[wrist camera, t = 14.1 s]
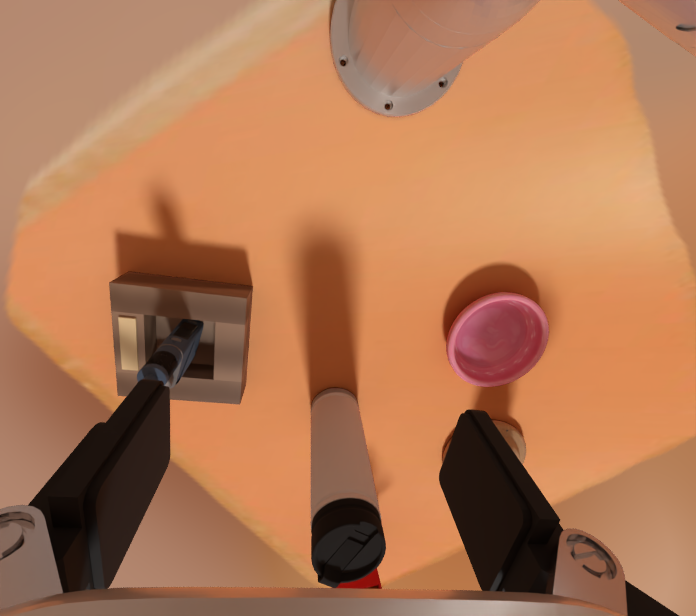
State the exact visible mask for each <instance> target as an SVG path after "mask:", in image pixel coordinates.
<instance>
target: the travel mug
mask: <svg viewBox="0 0 696 616" xmlns="http://www.w3.org/2000/svg"><path fill="white" fill-rule="evenodd" d="M311 532H312V537H311V559H312V565H313V567H314V570H315V571H316V573H317V574H318V582H319V583H322V584H325V585H327V586H330V587H333V588H336V587H337V586H338V585H339V584H340V583H349V582H353V581H357V580H359V579H362V578H364V577H366V576H367V575H369V574H370V573H371V572H373V571H374V570H375V569H376V568H377V567H378V566H379V564H380V563H381V561H382V559H383V557H384V555H385V550H386V543H385V538H384V533H383V528H382V524H381V515H380V511H379V505H378V500H377V495H376V490H375V485H374V480H373V475H372V470H371V465H370V460H369V455H368V450H367V445H366V440H365V435H364V430H363V425H362V421H361V416H360V411H359V406H358V402H357V399H356V398H355V396H354V395H353V394H352V393H351V392H349V391H347V390H345V389H341V388H330V389H327V390H324V391H322V392H321V393H319V394H318V395H317V396H316V397H315V398H314V400H313V402H312V405H311Z"/></svg>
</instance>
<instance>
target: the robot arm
mask: <svg viewBox="0 0 696 616" xmlns="http://www.w3.org/2000/svg"><path fill="white" fill-rule="evenodd" d="M539 1H540V0H336V2H335V4H334V9H333V14H332V19H331V27H330V44H331V52H332V57H333V62H334V66H335V68H336V71H337V74H338V76H339V78H340V80H341V82H342V83H343V85H344V87H345V89H346V90H347V91H348V92H349V94H350V95H351V96H352V97H353V98H354V99H355V100H356V101H357V102H358V103H359V104H361V105H362V106H363V107H364V108H366V109H368V110H370V111H372V112H374V113H376V114H379V115H383V116H387V117H404V116H409V115H413V114H416V113H418V112H420V111H423V110H425V109H426V108H428V107H430V106H431V105H433V104H434V103H435V102H436V101H438V100H439V99H440V98H441V97H442V96H443V95H444V94H445V93H446V92H447V91H448V90H449V88H450V87H451V85H452V84H453V82H454V80H455V79H456V77H457V75H458V74H459V71H460V69H461V66H462V64H463V61H465V60H466V59H468V58H469V57H470V56H472V55H473V54H475V53H476V52H477V51H479V50H480V49H482V48H483V47H484V46H486V45H487V44H489V43H490V42H491V41H493V40H494V39H496V38H497V37H498V36H500V35H501V34H502V33H504V32H505V31H506V30H508V29H509V28H510V27H512V26H513V25H514V24H516V23H517V22H518V21H520V20H521V19H522V18H523V17H524V16H525V15H526V14H527V13H528V12H529V11H531V10H532V9H533V7H534V6H535V5H536V4H537V3H538V2H539ZM619 1H620V2H621V3H623V4H624V5H625V6H627V7H628V8H629V9H631V10H632V11H633V12H635V13H636V14H637V15H639V16H640V17H641V18H643V19H644V20H645V21H647V22H648V23H649V24H651V25H652V26H653V27H655V28H656V29H657V30H659V31H660V32H661V33H663V34H664V35H665V36H667V37H668V38H669V39H671V40H672V41H674V42H676V43H677V44H678V45H680V46H681V47H683V48H684V49H685V50H687V51H688V52H690V53H691V54H692V55H694V56H696V0H619ZM341 61H345V63H346V65H345V66H341V64H340V62H341ZM439 82H441V83H442V87H440V86H439ZM385 104H388V105H389V109H388V110H387V109H385ZM169 460H170V388H169V387H168V386H164V383H163V381H159V380H148V379H141V380H140V381H139V382H138V383H137V384H136V386H135V387H134V388H133V389H132V391H131V392H130V393H129V394H128V396H127V397H126V398H125V399H124V401H123V402H122V403H121V404H120V406H119V407H118V408H117V409H116V411H115V412H114V413H113V414H112V416H111V417H110V418H109V420H108V421H107V422H106V423H102V422H100V423H98V424H96V425H95V426H94V427H93V428H92V429H91V430H90V431H89V433H88V434H87V435H86V436H85V437H84V439H83V440H82V441H81V442H80V443H79V445H78V446H77V447H76V448H75V449H74V451H73V452H72V453H71V454H70V456H69V457H68V458H67V459H66V460H65V462H64V463H63V464H62V465H61V466H60V467H59V469H58V470H57V471H56V472H55V473H54V475H53V476H52V477H51V478H50V479H49V481H48V482H47V483H46V484H45V485H44V487H43V488H42V489H41V490H40V492H39V493H38V494H37V495H36V496H35V497H34V499H33V500H32V501H31V502H30V503H29V505H28V506H27V505H17V506H10V507H6V508H2V509H0V616H679V615H677V614H676V613H674V612H673V611H671V610H669V609H668V608H666V607H665V606H663V605H662V604H660V603H659V602H657V601H656V600H654V599H653V598H651V597H650V596H648V595H647V594H645V593H644V592H642V591H641V590H639V589H638V588H636V587H635V586H633V585H631V584H630V583H629V582H627V581H625V575H624V571H623V568H622V566H621V564H620V562H619V560H618V559H617V558H616V556H615V555H614V554H613V553H612V552H611V550H610V549H609V548H608V547H607V546H605V545H604V544H603V543H602V542H601V541H599V540H598V539H596V538H595V537H594V536H592V535H590V534H588V533H586V532H584V531H581V530H577V529H566V530H563V529H562V527H561V526H560V524H559V521H560V519H559V517H558V516H557V514H556V513H555V511H554V510H553V508H552V507H551V506H550V504H549V503H548V501H547V500H546V498H545V497H544V495H543V494H542V492H541V491H540V490H539V488H538V487H537V485H536V484H535V482H534V481H533V479H532V478H531V476H530V475H529V474H528V472H527V471H526V469H525V468H524V466H523V465H522V463H521V462H520V460H519V459H518V458H517V456H516V455H515V453H514V452H513V450H512V449H511V447H510V446H509V444H508V443H507V442H506V440H505V439H504V437H503V436H502V434H501V433H500V431H499V430H498V428H497V427H496V426H495V424H494V423H493V421H492V420H491V418H490V417H489V415H488V414H487V413H486V412H485V411H479V410H466V411H465V413H463V414H461V415H460V417H459V420H458V422H457V425H456V428H455V431H454V434H453V436H452V439H451V442H450V445H449V448H448V450H447V453H446V456H445V459H444V462H443V464H442V467H441V470H440V473H439V481H440V485H441V488H442V490H443V493H444V495H445V498H446V500H447V503H448V506H449V508H450V511H451V513H452V516H453V518H454V521H455V523H456V526H457V529H458V531H459V534H460V536H461V539H462V541H463V544H464V546H465V549H466V552H467V554H468V557H469V559H470V562H471V564H472V567H473V569H474V572H475V574H476V577H477V580H478V582H479V585H480V587H481V589H482V591H467V590H464V591H463V590H416V589H414V590H413V589H410V590H409V589H353V588H264V587H262V588H259V587H255V588H254V587H249V588H248V587H150V588H149V587H148V588H146V587H145V588H144V587H143V588H111V589H107V588H109V586H110V585H111V583H112V581H113V579H114V577H115V575H116V573H117V571H118V569H119V567H120V565H121V563H122V561H123V558H124V556H125V554H126V552H127V550H128V548H129V546H130V544H131V542H132V540H133V538H134V535H135V534H136V531H137V529H138V527H139V525H140V523H141V521H142V519H143V517H144V515H145V512H146V511H147V509H148V506H149V504H150V502H151V500H152V498H153V496H154V494H155V492H156V490H157V488H158V486H159V484H160V481H161V479H162V477H163V475H164V473H165V471H166V469H167V467H168V464H169Z"/></svg>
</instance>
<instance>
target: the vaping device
mask: <svg viewBox="0 0 696 616" xmlns="http://www.w3.org/2000/svg"><path fill="white" fill-rule="evenodd" d="M203 326H204V324H203V322H201V321H200V320H191V319H182V321H181V322H180V323H179V324H178V325H177V326H176V327H175V329H174V330H173V331H172V332H171V333H170V334H169V336H168V337H167V338H166V339H165V340H164V341H163V343H162V344H161V345H160V346H159V347H158V348H157V350H156V352H155V353H154V354H153V355H152V356H151V358H150V360H148V361H147V362H146V364H145V365H144V366H143V367H142V368H141V369H140V370H139V372H138V374H137V381H138V382H139V381H140V380H141V379H148V380H159V381H163V383H164V386H168V387H169V388H170V389H171V388H173V387H174V386H175V385H176V384H177V383H178V382H179V381H180V379H181V377H182V376H183V374H184V373H185V371H186V369H187V368H188V366H189V365H190V363H191V361H192V360H193V358H194V357H195V352H196V351H197V348H198V345H199V341H200V337H201V334H202V330H203Z"/></svg>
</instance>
